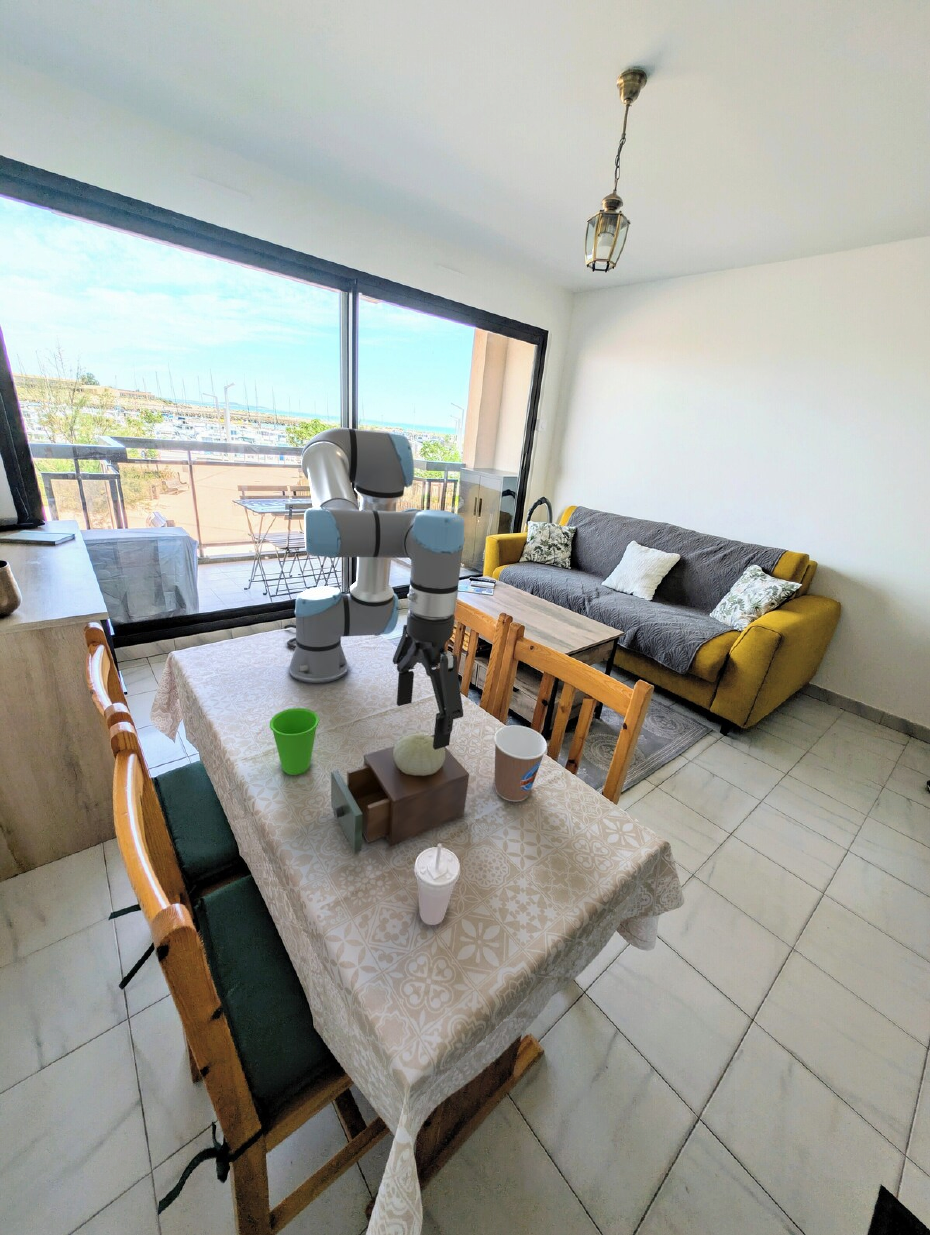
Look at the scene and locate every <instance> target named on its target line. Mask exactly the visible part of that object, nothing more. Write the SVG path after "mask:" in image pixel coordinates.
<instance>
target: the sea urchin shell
mask: <svg viewBox="0 0 930 1235" xmlns="http://www.w3.org/2000/svg"><path fill="white" fill-rule="evenodd" d="M433 740H434V738H433V737H431V736H430V734H425V733H423V732H418V733H417V732H416V733H412V734H409V735H405V736H404V737H402V738H401V739H399V740H398V741H397V742H395V745H393V746H394V751H393V758H394V760H395V763H396V765H397V767H398V768H399V769H400V770H401V771H402V772H404V773H406V774H410V775H414V776H415V775H421V776H424V775H431V774H433V773H435V772H437V771H438V770H439V769H440V768H441V767H442V765H443V763H444V760H445V748H444V747H443V748H439V749H436V750H435V749H434V748H433Z"/></svg>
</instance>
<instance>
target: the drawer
mask: <svg viewBox="0 0 930 1235" xmlns="http://www.w3.org/2000/svg"><path fill="white" fill-rule="evenodd" d="M330 796H331V797H330V806H331V809H332V811H333V814H334V818H336V820H337V821H338V824H339V826H340V827H341V830H342V832H343V834H344V835H345V838H346V840H347V841H348V844H349V846H350V848H351V850H352V852H353V854H357V853H358V854H359V853H360V852H362V844H363V843H362V842H363V841H362V840H363V836H364V838H365V840H366V842H367V843H370V842H372V841H375V840H377V839H380V838H383V837H385V835H388V834H389V830H390V814H391V801H390V799H389V797H388V796H387V794H386V793H385V791H384V790H383V788H382V787H381V785H380V783H379V782H378V780H377V779H376V777H375V776H374V774H373V773H372V771H371V769H370V768H369V766H368V765H365V766H363V765H361V766H359V767H358V766H357V767H355V768H352V769H348V770H347V771H346V782H345V780H344V778H343V776H342V774H341V773H340V771H339V769H338V768H337V769H333V770H331V772H330Z"/></svg>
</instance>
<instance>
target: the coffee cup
mask: <svg viewBox="0 0 930 1235" xmlns="http://www.w3.org/2000/svg"><path fill="white" fill-rule="evenodd" d="M493 740H494V780H493V782H494V789H495V791H496V794H497V795H498V796H499V797H500V798H502V799H503V800H506V801H509V802H514V803H515V802H522V801H524V800H525V799H527V798H528V797H529V794H530V792H531V791H532V789H533V788H532V787H533V786H534V783H535V780H536V777H537V775H538V771H539V769H540V766H541V764H542V761H543V757H544V754H546V753H547V751H548V750H547V749H548V743H547V740H546V739H545V738H544V736H543V735H542V734H541V733H540V732H538V731H537V730H535V729H532V728H530V727H527V726H523V725H517V724H515V725H513V724H512V725H506V726H503V727H501V728H499V729H497V731H496V732H495V733H494V736H493Z"/></svg>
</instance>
